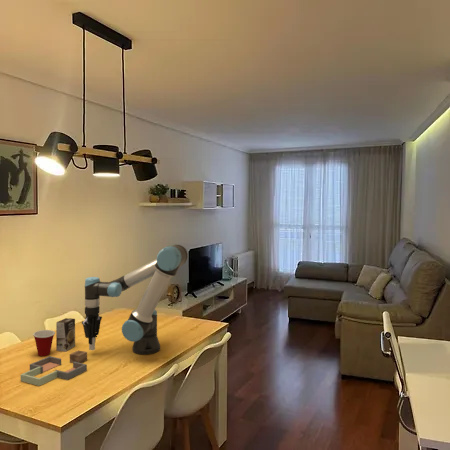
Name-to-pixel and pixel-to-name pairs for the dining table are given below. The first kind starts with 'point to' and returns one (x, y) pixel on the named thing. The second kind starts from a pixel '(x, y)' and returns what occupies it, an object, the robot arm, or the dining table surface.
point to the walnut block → (78, 357)
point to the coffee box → (65, 334)
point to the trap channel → (49, 364)
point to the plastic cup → (44, 341)
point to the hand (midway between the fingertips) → (92, 349)
